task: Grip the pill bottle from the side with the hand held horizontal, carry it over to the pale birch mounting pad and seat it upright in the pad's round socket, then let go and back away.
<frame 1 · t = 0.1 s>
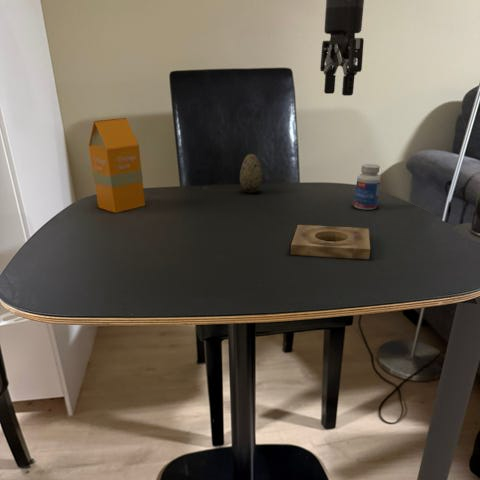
hand: (337, 94, 105), 25 cm above the table, tool pointing down, fingers open, 8 cm apart
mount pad: (330, 246, 92), on the table
orange juice: (121, 207, 119), on the table
decorative egg: (250, 193, 130), on the table
pill bottle: (365, 208, 116), on the table
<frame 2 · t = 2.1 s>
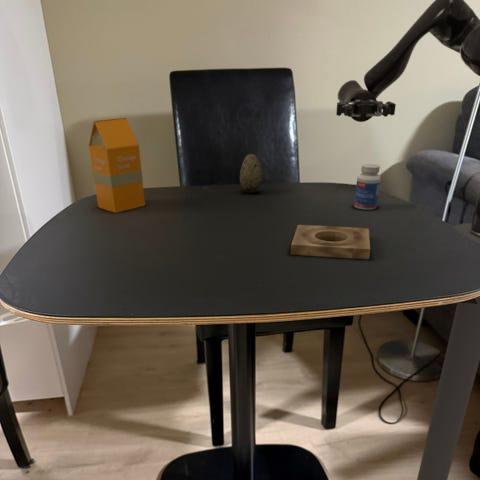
hand: (368, 112, 115), 20 cm above the table, tool horizontal, fingers open, 8 cm apart
nothing on the table moved.
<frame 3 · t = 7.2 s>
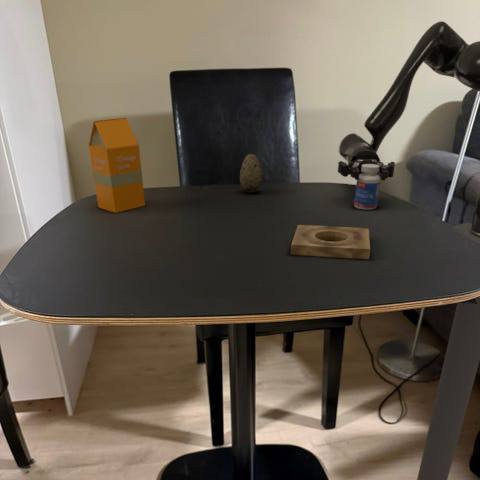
hand: (370, 175, 109), 8 cm above the table, tool horizontal, fingers closed on pill bottle, 5 cm apart
pill bottle: (365, 208, 116), on the table, touching gripper
everything else where it was.
when the fingers open (8 cm above the table, at t = 17.1 s): pill bottle stays where it is, resting in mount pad.
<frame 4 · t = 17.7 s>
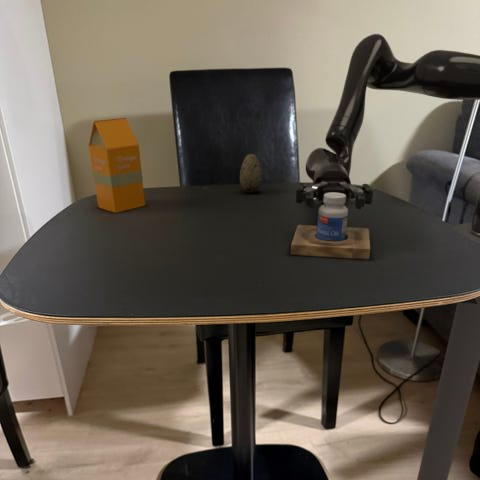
hand: (335, 203, 86), 9 cm above the table, tool horizontal, fingers open, 8 cm apart
pill bottle: (330, 246, 92), resting in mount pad
everything else where it was.
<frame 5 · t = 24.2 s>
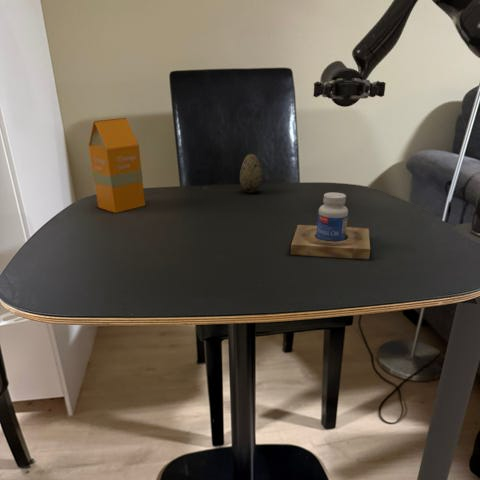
hand: (351, 91, 93), 26 cm above the table, tool horizontal, fingers open, 8 cm apart
nothing on the table moved.
at the end: pill bottle 0.1 cm off-centre in the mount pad, point 0.0 cm above the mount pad's base; pill bottle tilted 0°; the gripper is holding nothing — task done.
